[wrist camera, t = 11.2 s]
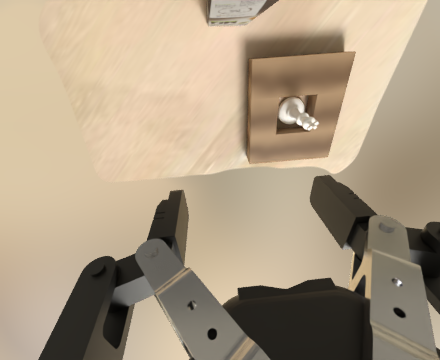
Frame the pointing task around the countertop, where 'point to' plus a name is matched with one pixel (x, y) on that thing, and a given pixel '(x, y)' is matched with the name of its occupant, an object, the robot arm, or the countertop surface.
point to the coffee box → (235, 11)
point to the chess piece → (295, 113)
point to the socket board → (295, 86)
